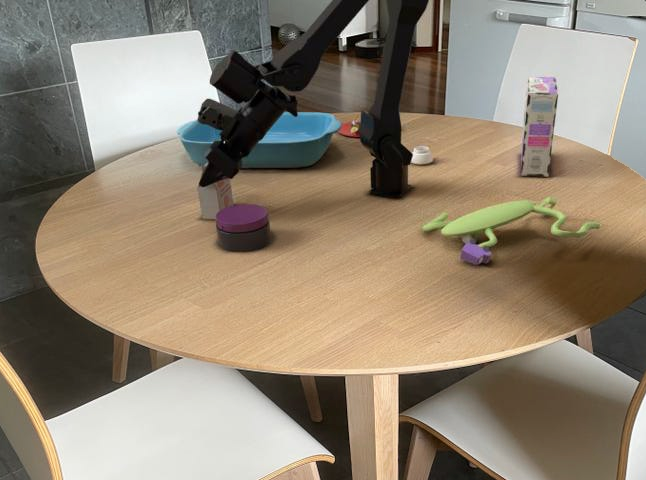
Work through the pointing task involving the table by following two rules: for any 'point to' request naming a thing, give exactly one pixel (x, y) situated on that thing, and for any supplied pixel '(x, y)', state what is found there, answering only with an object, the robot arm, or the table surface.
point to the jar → (244, 239)
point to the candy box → (538, 126)
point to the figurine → (498, 225)
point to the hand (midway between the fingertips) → (206, 178)
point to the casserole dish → (271, 141)
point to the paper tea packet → (214, 197)
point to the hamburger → (351, 127)
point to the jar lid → (242, 218)
